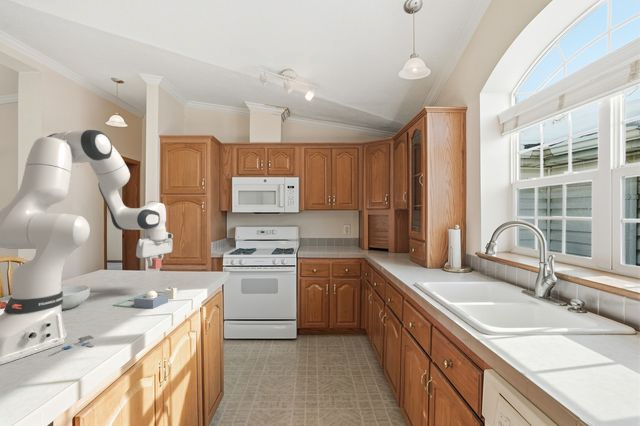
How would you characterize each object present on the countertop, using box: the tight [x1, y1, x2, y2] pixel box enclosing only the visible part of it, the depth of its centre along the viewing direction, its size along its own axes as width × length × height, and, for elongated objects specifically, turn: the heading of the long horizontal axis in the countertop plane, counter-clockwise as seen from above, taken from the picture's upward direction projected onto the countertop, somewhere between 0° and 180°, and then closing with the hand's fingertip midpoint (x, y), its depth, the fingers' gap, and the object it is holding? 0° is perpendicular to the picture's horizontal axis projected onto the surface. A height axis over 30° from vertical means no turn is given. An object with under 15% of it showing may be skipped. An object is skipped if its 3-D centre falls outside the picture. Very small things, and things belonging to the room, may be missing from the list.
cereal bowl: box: [61, 285, 91, 311], centre depth 125 cm, size 17×17×7 cm
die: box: [163, 287, 178, 300], centre depth 142 cm, size 4×4×5 cm
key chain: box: [48, 335, 95, 357], centre depth 91 cm, size 14×8×1 cm, turn 4°
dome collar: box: [133, 293, 169, 309], centre depth 131 cm, size 9×9×4 cm
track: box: [112, 290, 164, 308], centre depth 139 cm, size 23×9×1 cm, turn 169°
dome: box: [145, 290, 157, 298], centre depth 131 cm, size 4×4×5 cm
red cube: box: [147, 257, 163, 270], centre depth 146 cm, size 4×4×4 cm
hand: (154, 264), depth 146 cm, fingers closed on red cube, 4 cm apart
